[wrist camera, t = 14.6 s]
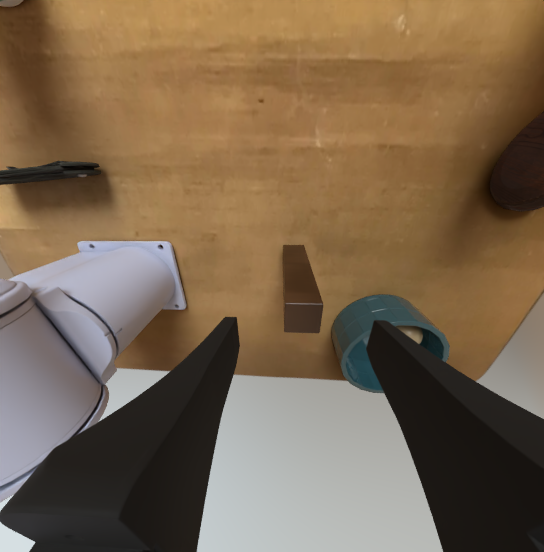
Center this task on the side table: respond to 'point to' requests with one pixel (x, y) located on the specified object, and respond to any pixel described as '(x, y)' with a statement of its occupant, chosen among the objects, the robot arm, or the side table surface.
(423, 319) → the bowl
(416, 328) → the bead
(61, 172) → the folding knife
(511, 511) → the robot arm
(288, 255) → the stirring stick
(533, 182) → the compass
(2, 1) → the supplement bottle
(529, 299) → the side table surface
